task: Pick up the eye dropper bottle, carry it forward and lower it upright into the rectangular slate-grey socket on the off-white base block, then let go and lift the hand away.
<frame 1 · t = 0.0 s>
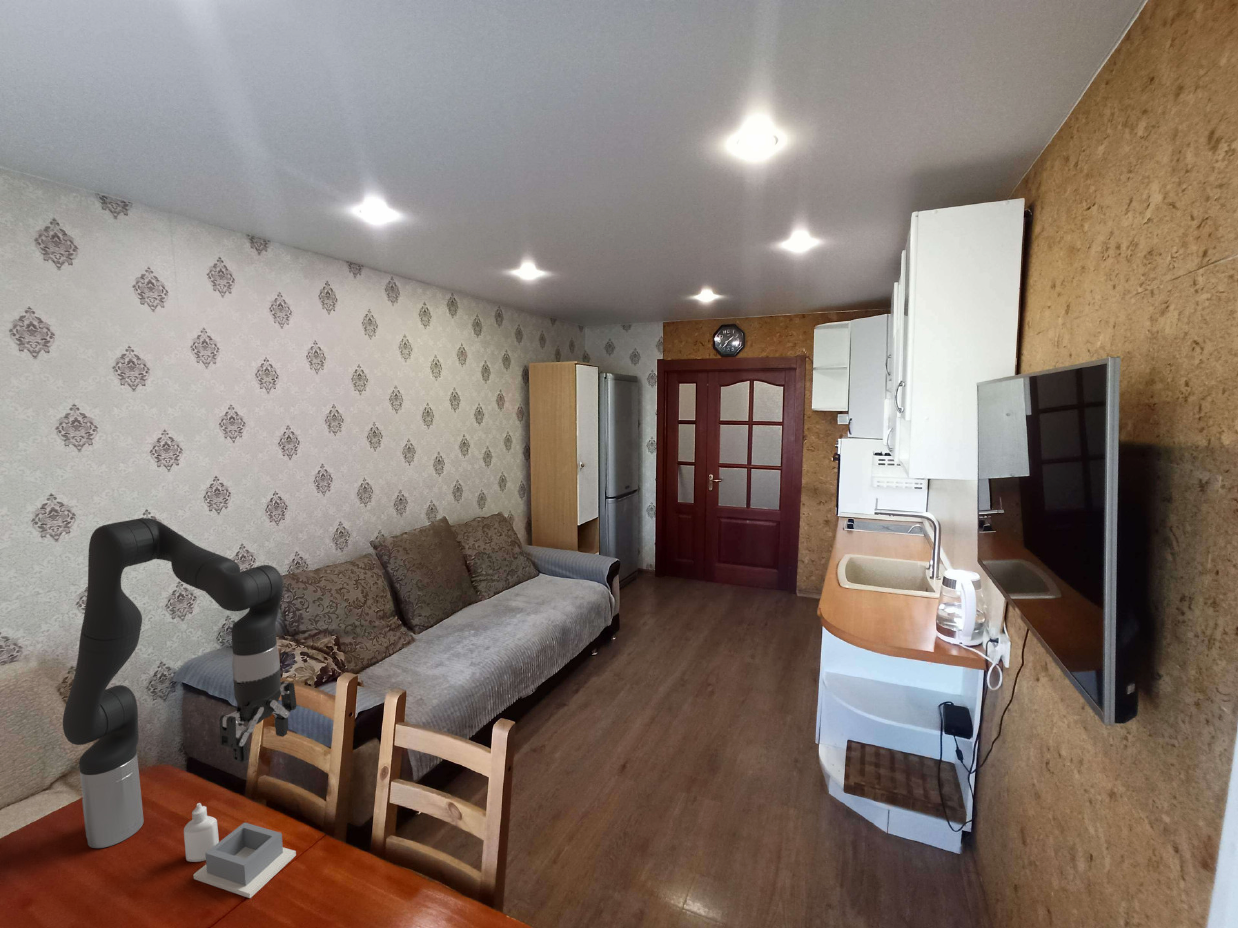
hand: (262, 747, 105), 29 cm above the table, fingers open, 8 cm apart
socket: (246, 866, 112), on the table
eye dropper bottle: (203, 856, 115), on the table
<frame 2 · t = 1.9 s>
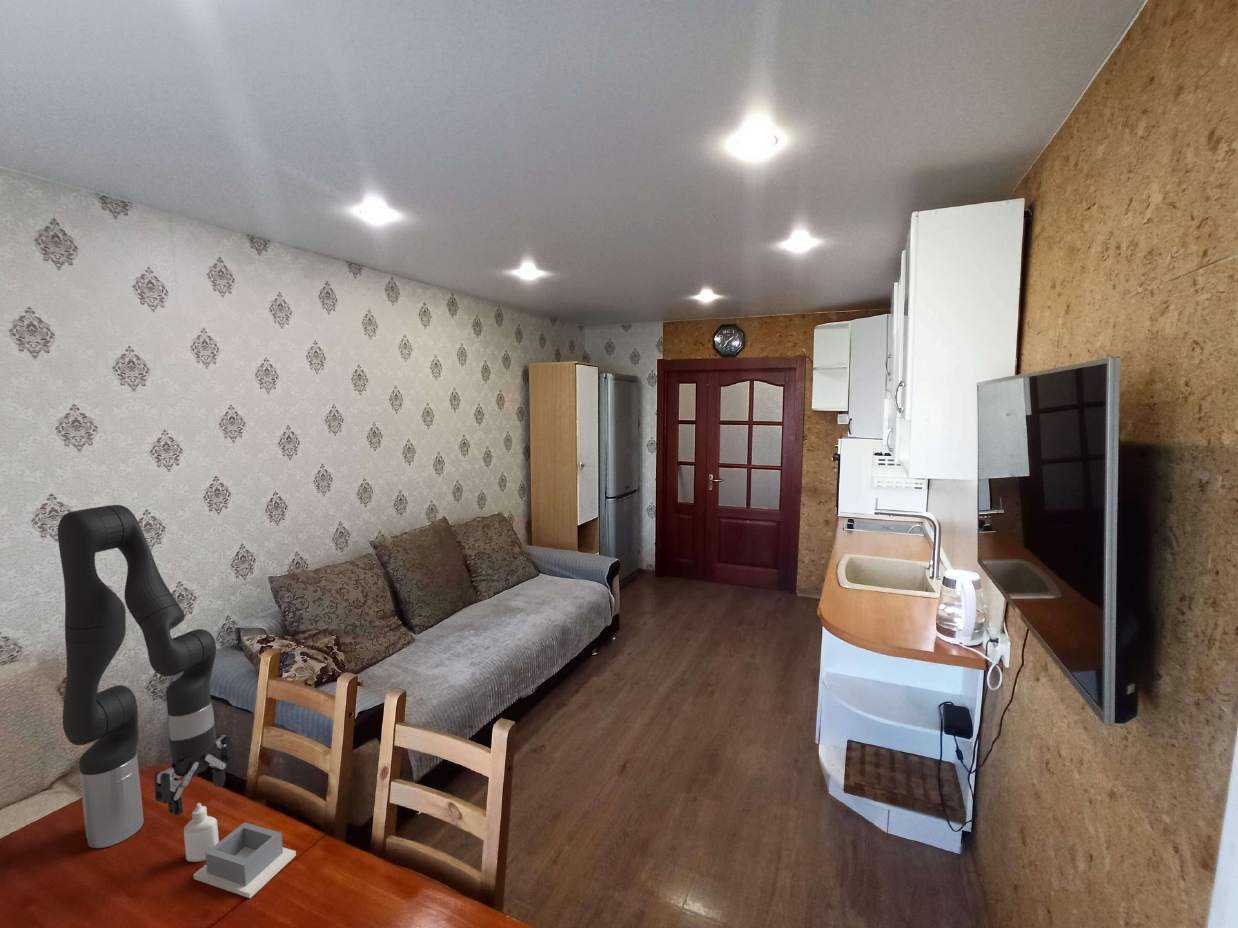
hand: (198, 799, 113), 13 cm above the table, fingers open, 8 cm apart
nothing on the table moved.
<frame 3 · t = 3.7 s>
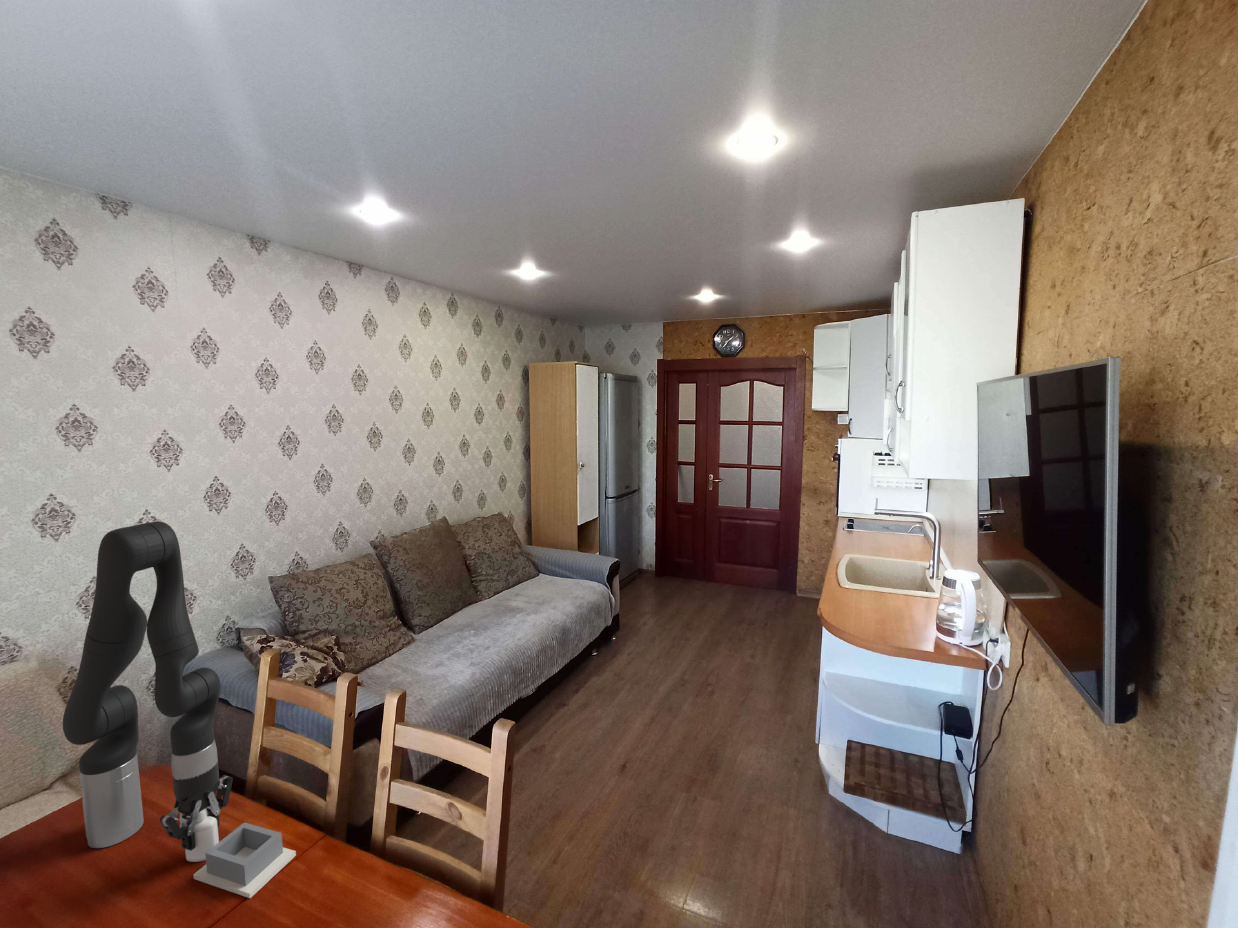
hand: (201, 839, 114), 4 cm above the table, fingers closed on eye dropper bottle, 4 cm apart
eye dropper bottle: (203, 856, 115), on the table, touching gripper
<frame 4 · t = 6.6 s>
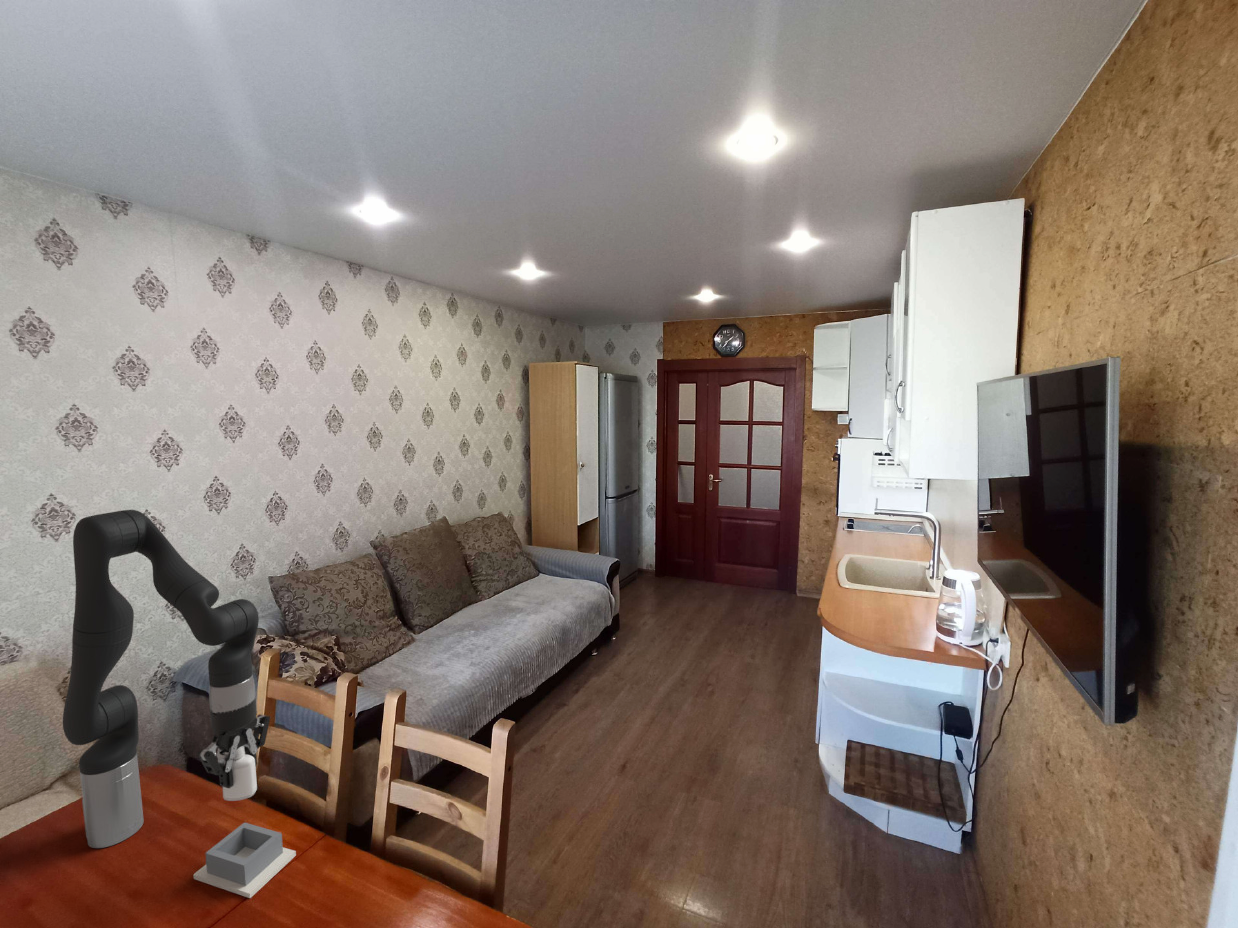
hand: (239, 778, 110), 20 cm above the table, fingers closed on eye dropper bottle, 4 cm apart
eye dropper bottle: (240, 795, 110), point 16 cm above the table, touching gripper
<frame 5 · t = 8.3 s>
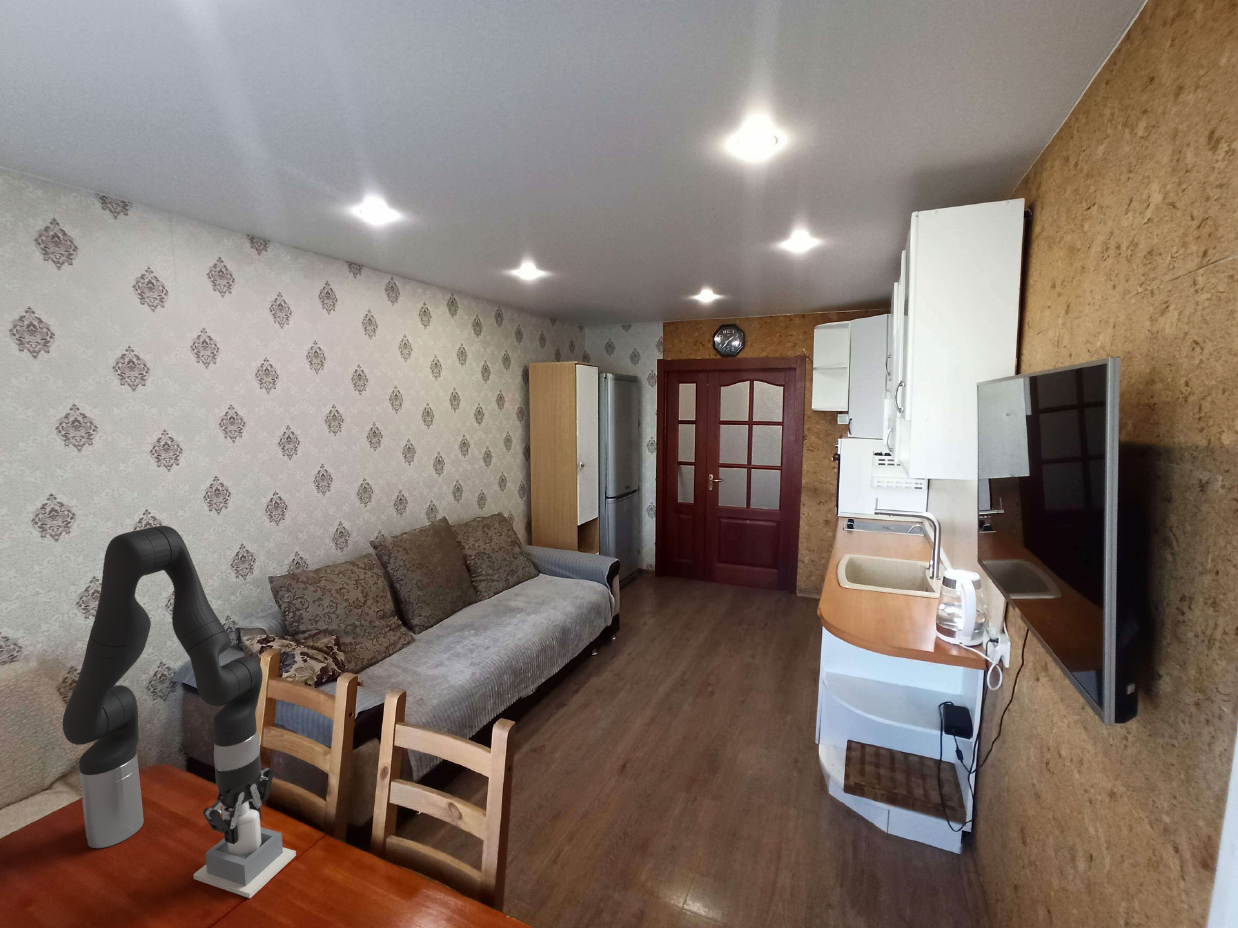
hand: (243, 832, 111), 8 cm above the table, fingers closed on eye dropper bottle, 4 cm apart
eye dropper bottle: (245, 850, 111), point 4 cm above the table, touching gripper
when the fingers open (6 cm above the table, at t = 9.6 s): eye dropper bottle drops 1 cm, resting on socket.
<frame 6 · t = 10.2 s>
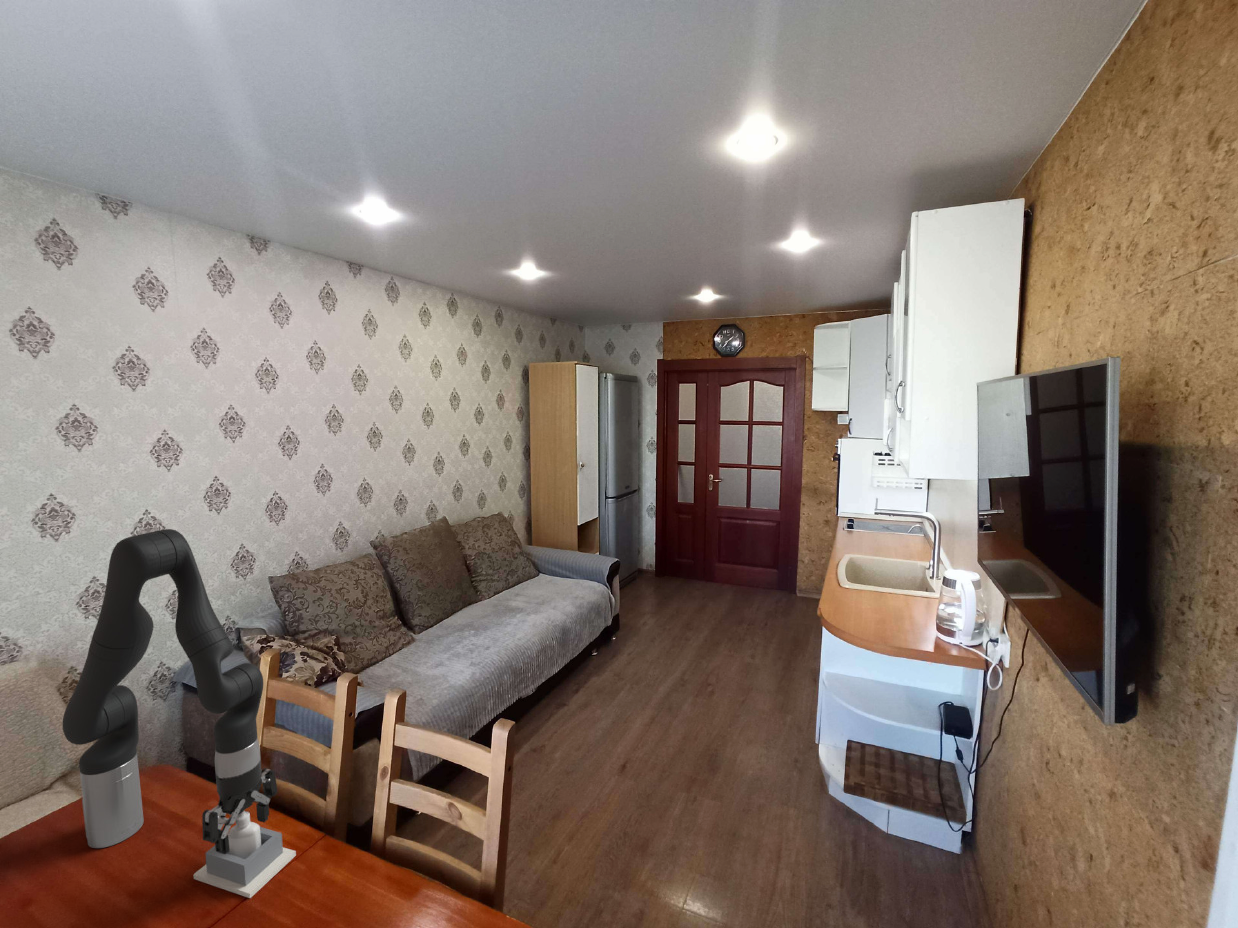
hand: (243, 835, 111), 7 cm above the table, fingers open, 8 cm apart
eye dropper bottle: (246, 862, 112), point 1 cm above the table, touching socket
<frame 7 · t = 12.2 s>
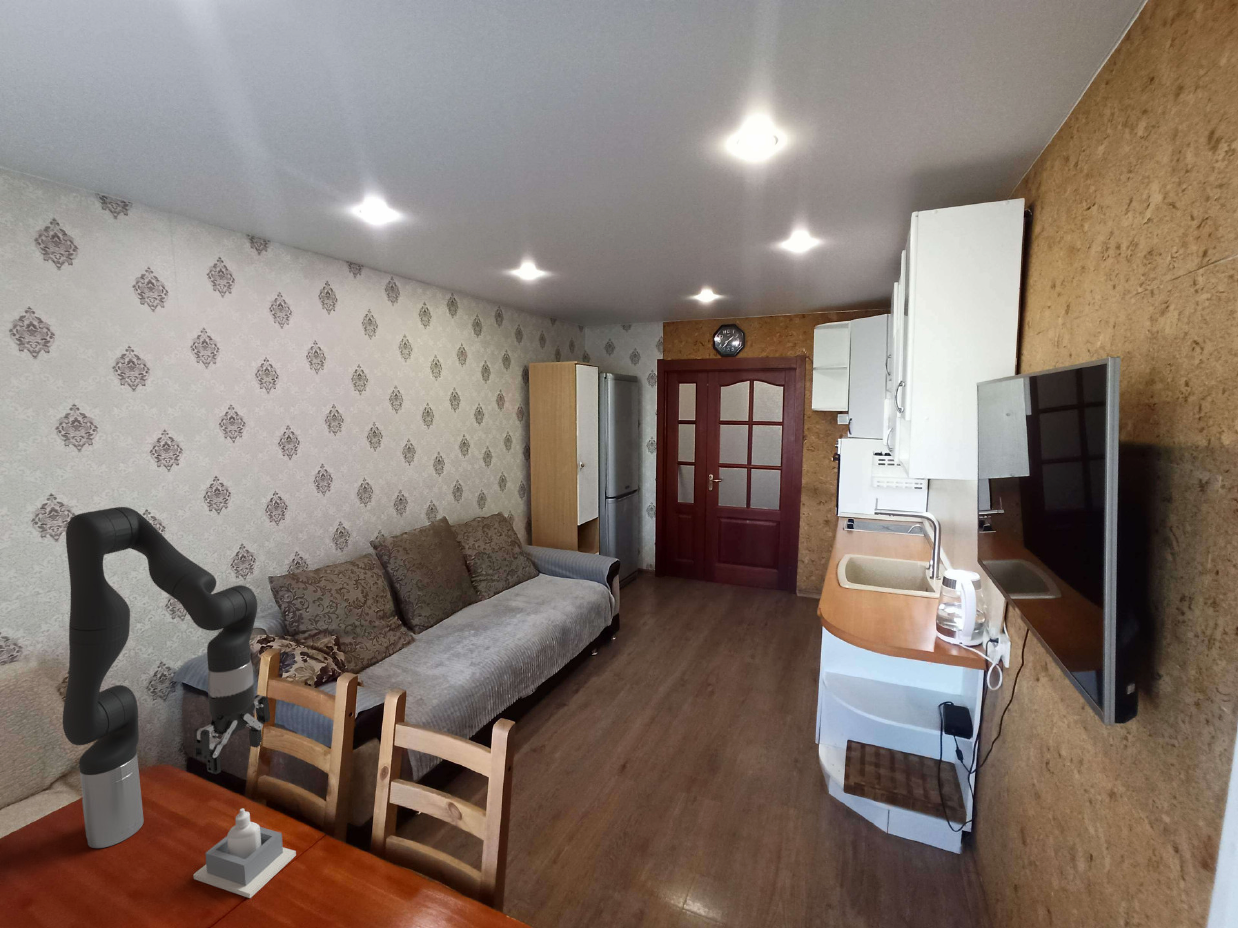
hand: (235, 758, 111), 23 cm above the table, fingers open, 8 cm apart
nothing on the table moved.
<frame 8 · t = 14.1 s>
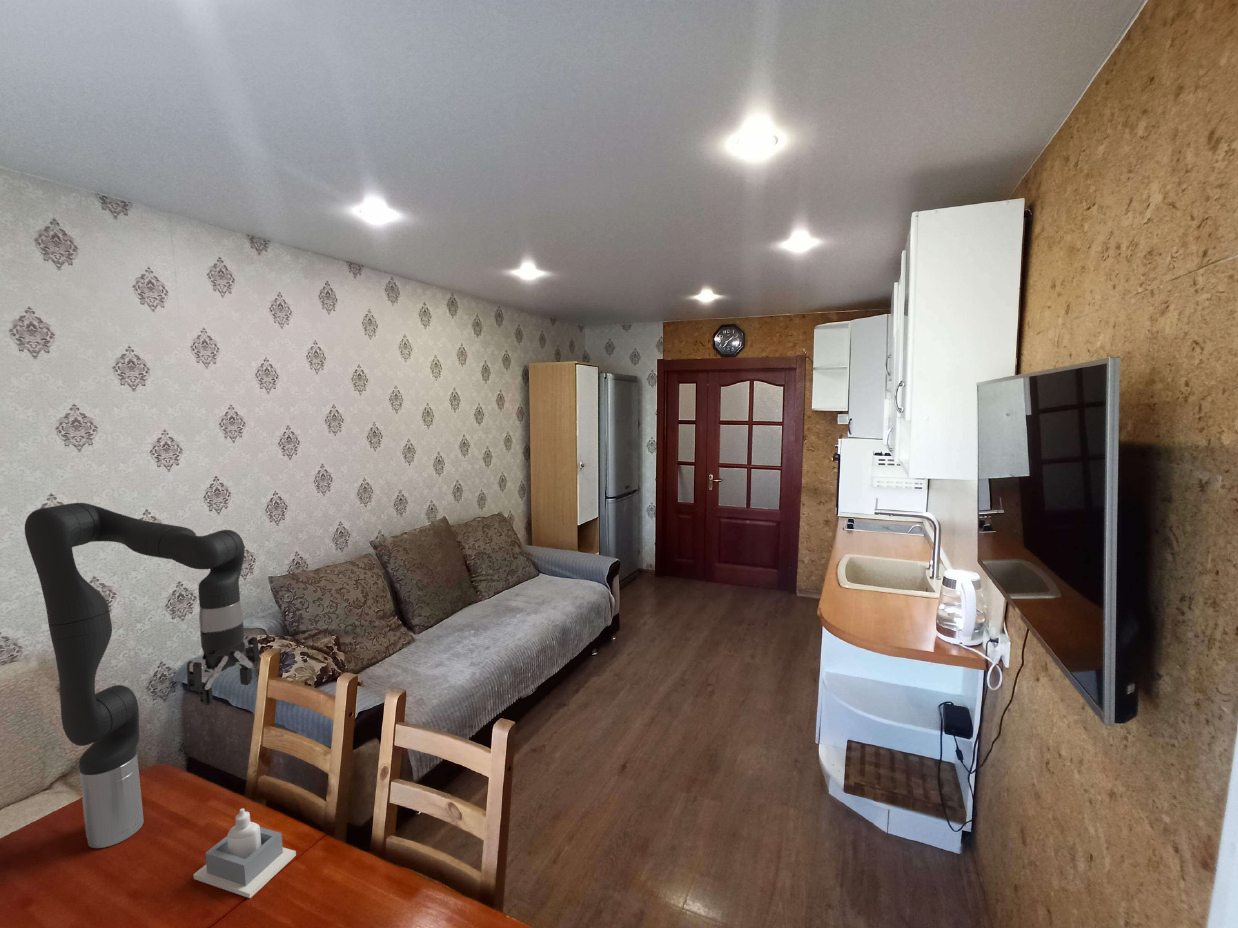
hand: (227, 693, 117), 33 cm above the table, fingers open, 8 cm apart
nothing on the table moved.
at the end: eye dropper bottle 0.1 cm off-centre on the socket, point 0.8 cm above the socket's base; eye dropper bottle tilted 0°; the gripper is holding nothing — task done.
